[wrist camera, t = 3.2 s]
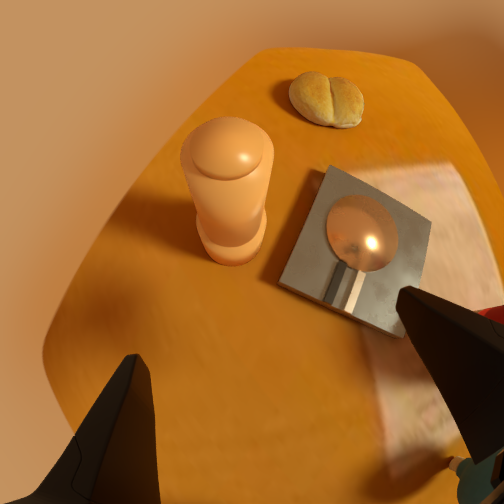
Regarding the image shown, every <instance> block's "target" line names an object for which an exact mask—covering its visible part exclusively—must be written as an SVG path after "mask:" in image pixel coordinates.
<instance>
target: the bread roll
mask: <svg viewBox="0 0 504 504" xmlns="http://www.w3.org/2000/svg"><path fill="white" fill-rule="evenodd" d="M289 98H290V101H291V103H292V105H293V106H294V108H295V109H296V110H297V111H298V112H299V113H300V114H301V115H303V116H304V117H305V118H306V119H308V120H309V121H312V122H314V123H316V124H319V125H323V126H334V127H335V128H351V127H355V126H357V125H358V124H359V123H360V121H361V115H362V113H363V109H364V101H363V95H362V94H361V92H360V90H359V89H358V88H357V87H356V86H355V84H353V83H352V82H350V81H349V80H347V79H345V78H341V77H334V78H327V77H326V76H324V75H322V74H320V73H318V72H306V73H303V74H301V75H299V76H298V77H297V78H296V79H295V80H294V81H293V82H292V83H291V85H290V88H289Z"/></svg>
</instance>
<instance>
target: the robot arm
mask: <svg viewBox="0 0 504 504" xmlns="http://www.w3.org/2000/svg"><path fill="white" fill-rule="evenodd" d="M395 308H396V312H397V314H398V316H399V318H400V320H401V322H402V324H403V326H404V328H405V330H406V332H407V334H408V336H409V338H410V340H411V342H412V344H413V346H414V347H415V349H416V351H417V353H418V354H419V356H420V358H421V359H422V361H423V363H424V364H425V366H426V368H427V370H428V371H429V373H430V375H431V377H432V378H433V380H434V382H435V384H436V386H437V387H438V389H439V391H440V393H441V395H442V397H443V399H444V401H445V402H446V404H447V406H448V408H449V410H450V412H451V414H452V416H453V418H454V420H455V422H456V424H457V426H458V429H459V431H460V433H461V435H462V437H463V440H464V442H465V444H466V446H467V449H468V451H469V453H470V456H471V458H472V460H473V463H474V464H475V465H477V464H479V463H480V462H482V461H483V460H485V459H486V458H488V457H489V456H491V455H492V454H494V453H495V452H497V451H498V450H500V449H501V448H502V447H504V325H503V324H501V323H499V322H496V321H494V320H492V319H488V318H487V317H485V316H483V315H480V314H478V313H476V312H473V311H471V310H469V309H466V308H464V307H462V306H459V305H457V304H454V303H452V302H450V301H447V300H445V299H442V298H440V297H438V296H435V295H433V294H430V293H428V292H425V291H423V290H420V289H418V288H416V287H413V286H410V285H409V286H405V287H403V288H401V289H400V290H399V293H398V297H397V301H396V306H395ZM490 483H491V485H492V487H493V489H494V491H493V492H492V493H491V494H490V495H489V496H487V497H486V498H485V499H484V500H483V501H482V502H481V503H480V504H504V449H503V450H502V451H501V452H500V453H499V454H498V455H497V456H496V458H495V463H494V467H493V472H492V476H491V480H490ZM5 504H161V500H160V492H159V482H158V470H157V456H156V436H155V413H154V404H153V396H152V388H151V378H150V372H149V369H148V367H147V366H146V364H145V363H144V361H143V360H142V358H141V356H140V355H139V354H130V355H127V356H125V358H124V359H123V361H122V362H121V364H120V365H119V367H118V368H117V369H116V371H115V372H114V374H113V375H112V377H111V378H110V380H109V381H108V383H107V384H106V386H105V387H104V389H103V390H102V392H101V394H100V395H99V397H98V398H97V400H96V401H95V403H94V404H93V406H92V407H91V409H90V411H89V412H88V414H87V415H86V417H85V418H84V420H83V422H82V423H81V425H80V426H79V428H78V430H77V431H76V433H75V436H73V438H72V439H71V441H70V443H69V444H68V446H67V447H66V449H65V451H64V452H63V454H62V455H61V457H60V458H59V459H58V461H57V462H56V464H55V465H54V467H53V468H52V469H51V471H50V472H49V473H48V475H47V476H46V477H45V479H44V480H43V481H42V483H41V484H40V485H39V487H38V488H37V489H36V490H35V491H34V492H33V493H32V494H30V495H29V496H27V497H24V498H21V499H18V500H15V501H12V502H9V503H5Z"/></svg>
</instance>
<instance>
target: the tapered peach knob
mask: <svg viewBox="0 0 504 504" xmlns="http://www.w3.org/2000/svg"><path fill="white" fill-rule="evenodd" d="M180 155H181V164H182V167H183V171H184V174H185V177H186V180H187V183H188V186H189V189H190V192H191V195H192V198H193V201H194V204H195V207H196V210H197V216H196V226H197V230H198V233H199V236H200V238H201V240H202V243H203V245H204V248H205V250H206V252H207V254H208V255H209V256H210V257H211V258H212V259H213V260H214V261H216V262H217V263H219V264H222V265H225V266H239V265H243V264H245V263H247V262H249V261H250V260H252V259H253V258H254V257H255V256H256V254H257V253H258V251H259V249H260V247H261V243H262V240H263V236H264V232H265V228H266V222H267V220H266V212H265V209H264V204H265V199H266V194H267V189H268V184H269V179H270V174H271V169H272V164H273V159H274V148H273V144H272V142H271V140H270V138H269V136H268V135H267V134H266V132H265V131H263V130H262V129H261V128H260V127H258V126H257V125H255V124H253V123H251V122H249V121H246V120H244V119H241V118H236V117H220V118H216V119H212V120H210V121H208V122H206V123H204V124H202V125H201V126H199V127H197V128H196V129H195V130H194V131H192V132H191V133H190V134H189V136H188V137H187V138H186V140H185V141H184V143H183V146H182V149H181V154H180Z"/></svg>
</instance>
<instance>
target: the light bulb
mask: <svg viewBox="0 0 504 504" xmlns="http://www.w3.org/2000/svg"><path fill="white" fill-rule="evenodd" d="M503 449H504V447H502V448H501V449H500V450H498V451H497V452H495V453H494V454H492V455H491V456H489V457H488V458H486V459H485V460H483V461H482V462H480V463H479V464H477V465H475V464H474V463H473V460H472V458H466V459H464V458H462V457H459V456H457V457H455V458H454V459H452V460H451V462H450V464H449V469H451V470H453V471H455V472H456V475H457V476H458V477H459V479H460V481H459V484H458V488H457V498H458V502H459V504H480V503H481V502H482V501H483V500H484V499H485V498H486V497H487V496H489V495H490V494H491V493H492V492H493V491H494V489H493V487H492V485H491V483H490V480H491V476H492V472H493V467H494V463H495V458H496V456H497V455H498V454H499V453H500V452H501V451H502V450H503Z"/></svg>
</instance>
